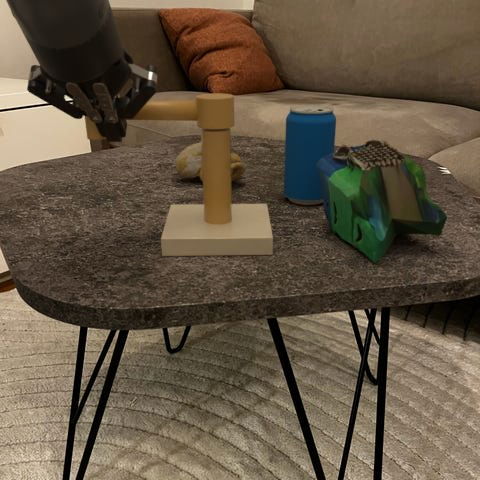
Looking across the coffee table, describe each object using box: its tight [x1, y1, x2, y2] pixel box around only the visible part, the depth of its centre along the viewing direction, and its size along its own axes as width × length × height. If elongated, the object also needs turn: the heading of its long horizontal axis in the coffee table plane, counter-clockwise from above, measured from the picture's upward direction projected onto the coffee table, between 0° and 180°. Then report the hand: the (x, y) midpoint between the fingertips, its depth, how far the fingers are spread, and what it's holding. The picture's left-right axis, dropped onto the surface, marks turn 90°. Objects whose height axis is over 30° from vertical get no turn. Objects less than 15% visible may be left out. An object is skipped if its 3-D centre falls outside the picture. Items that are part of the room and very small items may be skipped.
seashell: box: [174, 141, 247, 183], centre depth 90 cm, size 10×6×15 cm
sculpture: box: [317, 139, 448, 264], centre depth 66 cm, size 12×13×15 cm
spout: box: [84, 92, 235, 141], centre depth 63 cm, size 16×4×4 cm, turn 84°
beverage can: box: [283, 104, 337, 206], centre depth 79 cm, size 6×6×12 cm
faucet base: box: [160, 128, 274, 257], centre depth 66 cm, size 12×12×12 cm
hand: (115, 134), depth 64 cm, fingers closed
